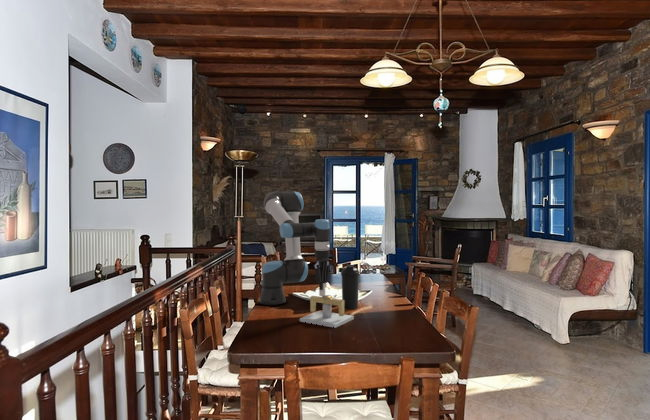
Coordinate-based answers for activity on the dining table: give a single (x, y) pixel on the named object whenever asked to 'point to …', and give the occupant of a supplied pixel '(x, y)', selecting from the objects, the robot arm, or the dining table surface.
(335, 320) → the base
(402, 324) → the dining table surface
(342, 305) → the yellow u-shaped block
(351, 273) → the water bottle
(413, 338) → the dining table surface
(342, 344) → the dining table surface
